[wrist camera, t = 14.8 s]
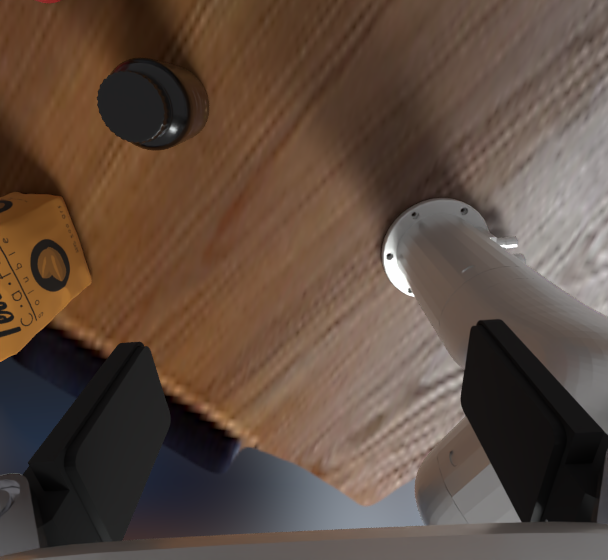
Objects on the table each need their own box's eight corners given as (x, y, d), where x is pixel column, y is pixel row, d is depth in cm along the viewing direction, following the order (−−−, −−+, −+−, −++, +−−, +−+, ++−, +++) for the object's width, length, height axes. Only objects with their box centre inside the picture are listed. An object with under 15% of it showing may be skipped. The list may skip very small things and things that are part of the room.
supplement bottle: (143, 135, 38) (85, 150, 28) (140, 59, 35) (72, 43, 25) (210, 144, 39) (178, 162, 28) (212, 71, 36) (177, 59, 25)
